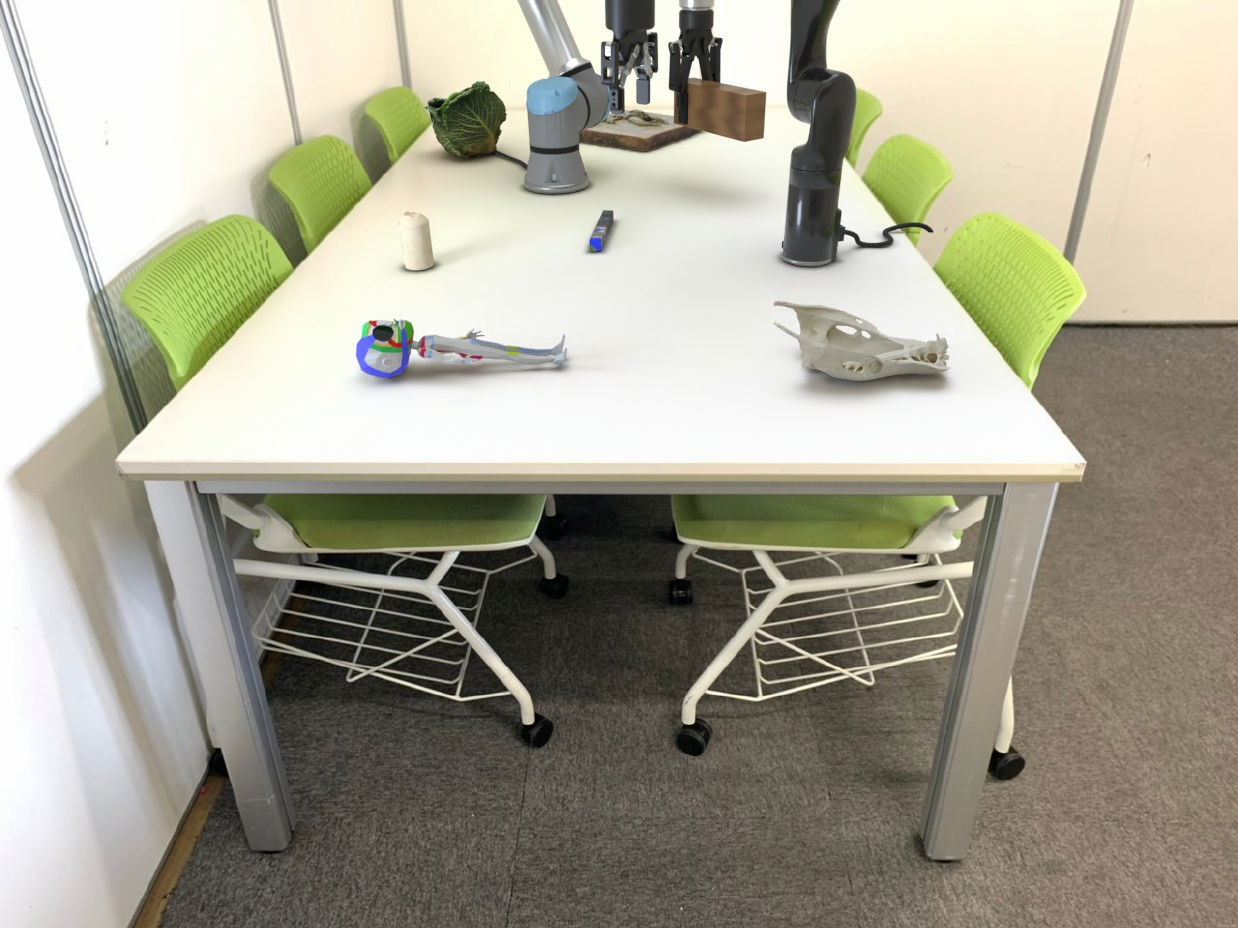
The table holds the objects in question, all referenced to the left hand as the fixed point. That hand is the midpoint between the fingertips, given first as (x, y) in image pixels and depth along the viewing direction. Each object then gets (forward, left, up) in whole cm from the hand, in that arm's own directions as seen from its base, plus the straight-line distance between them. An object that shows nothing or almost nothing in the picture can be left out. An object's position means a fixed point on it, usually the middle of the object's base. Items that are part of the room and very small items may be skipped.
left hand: (693, 121), depth 206 cm
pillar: (+11, -41, -15) cm, 45 cm away
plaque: (-47, +29, -15) cm, 57 cm away
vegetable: (-64, -16, -15) cm, 68 cm away
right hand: (+35, -58, +15) cm, 69 cm away
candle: (-2, -76, -15) cm, 78 cm away
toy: (+39, -98, -15) cm, 106 cm away
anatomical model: (+82, -59, -15) cm, 102 cm away
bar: (+8, -2, -1) cm, 9 cm away
